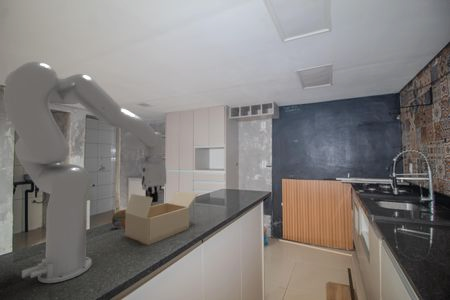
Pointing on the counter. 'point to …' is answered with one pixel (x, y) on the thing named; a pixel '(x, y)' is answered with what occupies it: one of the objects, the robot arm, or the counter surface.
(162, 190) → the coffee box
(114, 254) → the counter surface
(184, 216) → the carton
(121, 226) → the tin
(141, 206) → the near flap
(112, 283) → the counter surface
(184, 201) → the far flap
